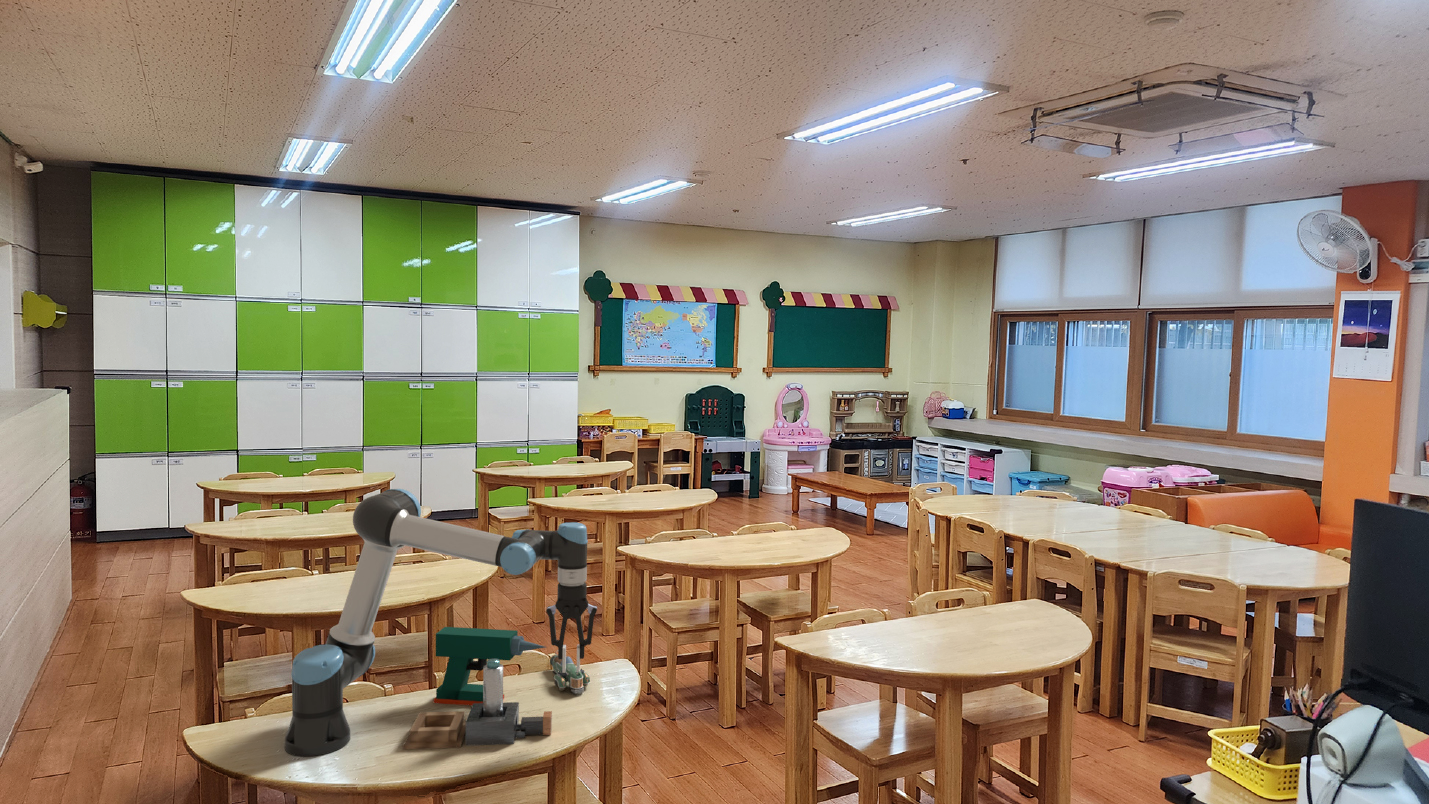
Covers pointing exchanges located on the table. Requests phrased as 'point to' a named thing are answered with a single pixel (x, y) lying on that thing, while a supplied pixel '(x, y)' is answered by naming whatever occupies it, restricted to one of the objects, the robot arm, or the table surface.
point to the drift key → (537, 724)
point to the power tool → (466, 648)
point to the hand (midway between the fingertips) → (571, 670)
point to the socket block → (493, 726)
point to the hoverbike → (569, 675)
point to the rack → (437, 730)
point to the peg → (493, 689)
